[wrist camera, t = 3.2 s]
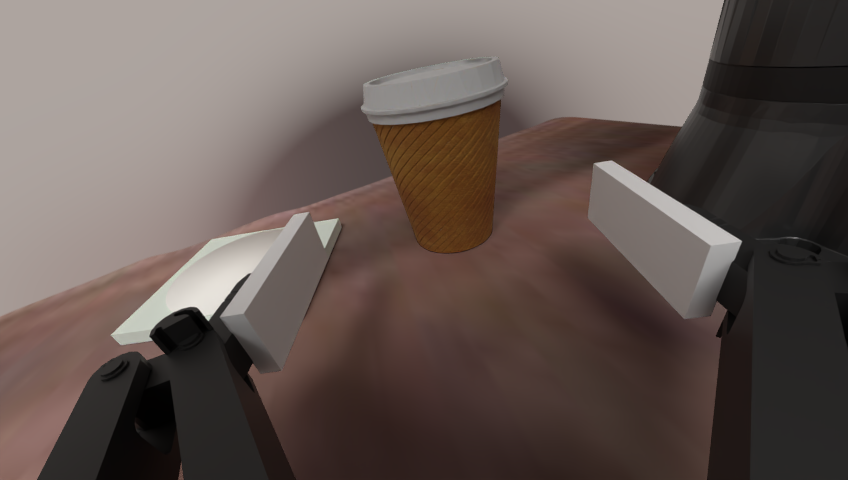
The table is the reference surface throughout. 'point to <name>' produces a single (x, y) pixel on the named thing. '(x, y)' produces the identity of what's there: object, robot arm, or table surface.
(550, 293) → the table surface
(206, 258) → the coaster board
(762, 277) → the robot arm
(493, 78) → the disposable coffee cup
